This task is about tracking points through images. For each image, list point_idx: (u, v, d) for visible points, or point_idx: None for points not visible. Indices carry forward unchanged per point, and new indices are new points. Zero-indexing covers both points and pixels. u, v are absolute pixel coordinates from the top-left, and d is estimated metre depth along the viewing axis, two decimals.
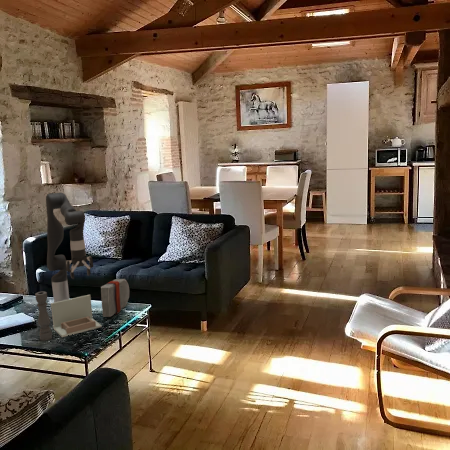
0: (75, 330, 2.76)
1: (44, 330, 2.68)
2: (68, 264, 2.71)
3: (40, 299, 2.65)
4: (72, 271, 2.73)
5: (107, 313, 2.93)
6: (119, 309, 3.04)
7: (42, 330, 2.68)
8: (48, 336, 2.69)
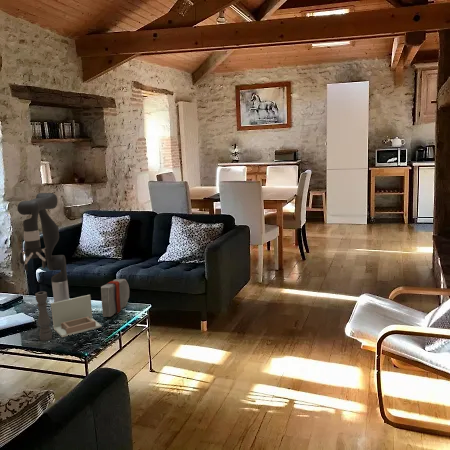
0: (75, 330, 2.76)
1: (44, 330, 2.68)
2: (21, 255, 2.62)
3: (40, 299, 2.65)
4: (25, 263, 2.64)
5: (107, 313, 2.93)
6: (119, 309, 3.04)
7: (42, 330, 2.68)
8: (48, 336, 2.69)
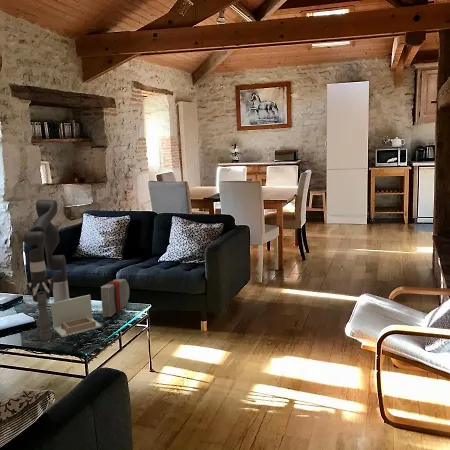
0: (75, 330, 2.76)
1: (44, 330, 2.68)
2: (28, 287, 2.62)
3: (40, 299, 2.65)
4: (34, 294, 2.64)
5: (107, 314, 2.93)
6: (119, 309, 3.04)
7: (42, 330, 2.68)
8: (48, 336, 2.69)
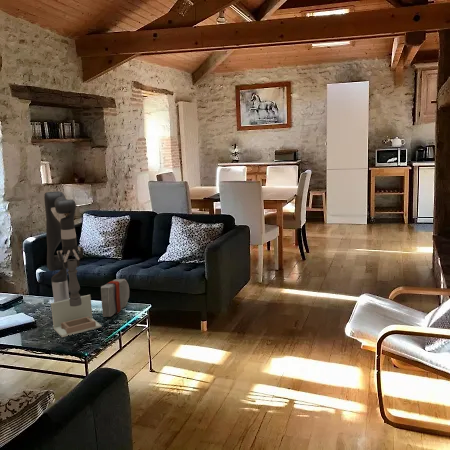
0: (75, 330, 2.76)
1: (74, 296, 2.76)
2: (59, 254, 2.70)
3: (71, 266, 2.73)
4: (65, 261, 2.72)
5: (107, 313, 2.93)
6: (119, 309, 3.04)
7: (72, 296, 2.76)
8: (78, 302, 2.77)
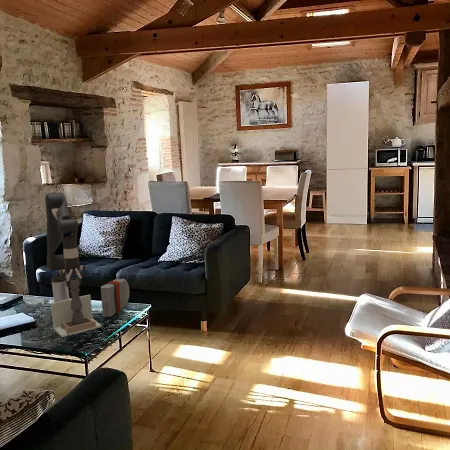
0: (75, 330, 2.76)
1: (76, 315, 2.78)
2: (62, 273, 2.72)
3: (73, 285, 2.75)
4: (67, 280, 2.74)
5: (107, 313, 2.93)
6: (119, 309, 3.04)
7: (75, 315, 2.78)
8: (81, 321, 2.79)
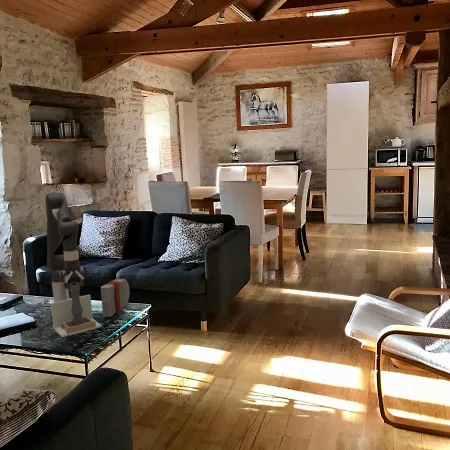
0: (75, 330, 2.76)
1: (77, 319, 2.79)
2: (61, 274, 2.72)
3: (74, 290, 2.75)
4: (66, 281, 2.73)
5: (107, 314, 2.93)
6: (119, 309, 3.04)
7: (75, 319, 2.79)
8: None
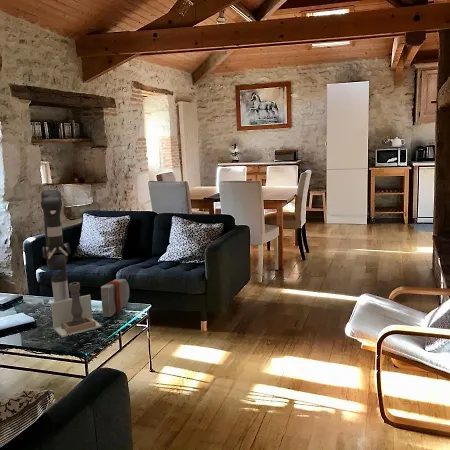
0: (75, 330, 2.76)
1: (77, 319, 2.79)
2: (45, 250, 2.69)
3: (74, 289, 2.75)
4: (49, 258, 2.71)
5: (107, 313, 2.93)
6: (119, 309, 3.04)
7: (75, 319, 2.79)
8: None
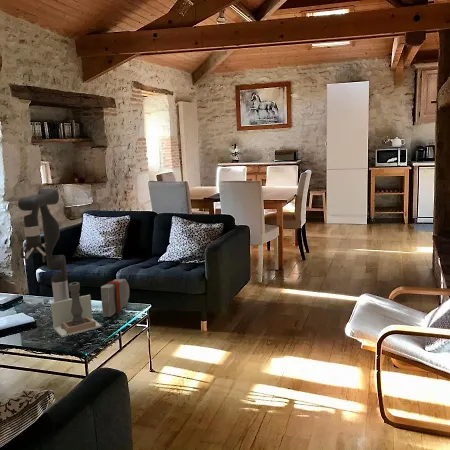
0: (75, 330, 2.76)
1: (77, 319, 2.79)
2: (22, 250, 2.69)
3: (73, 289, 2.75)
4: (26, 257, 2.71)
5: (107, 313, 2.93)
6: (119, 309, 3.04)
7: (75, 319, 2.79)
8: None
